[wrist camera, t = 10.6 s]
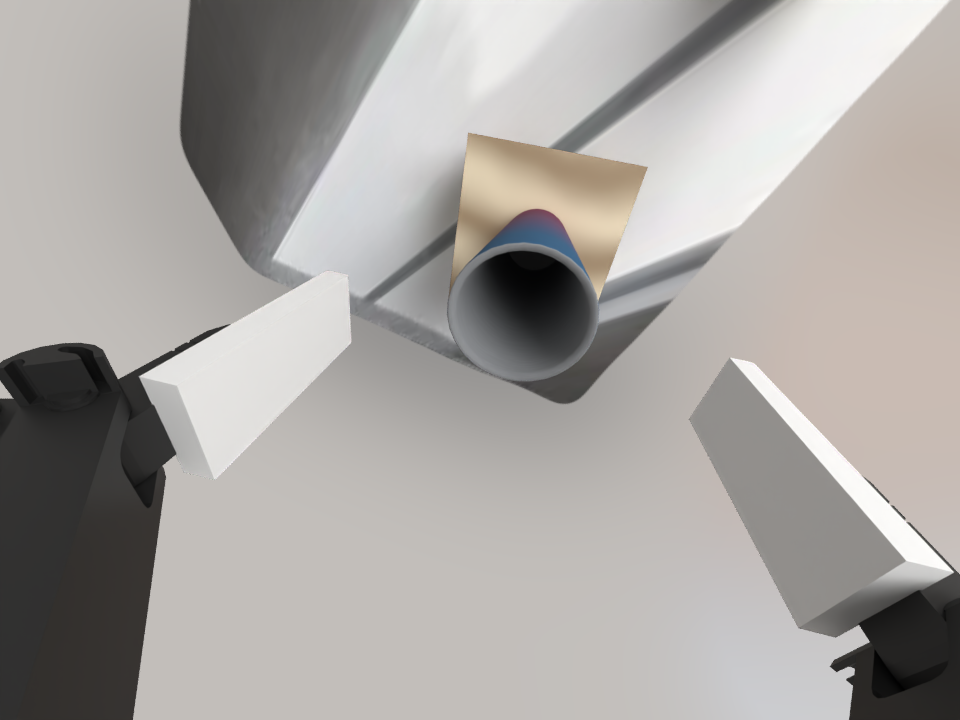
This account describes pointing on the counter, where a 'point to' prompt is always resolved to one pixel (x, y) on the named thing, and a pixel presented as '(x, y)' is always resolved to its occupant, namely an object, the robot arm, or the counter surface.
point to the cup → (524, 302)
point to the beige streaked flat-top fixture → (545, 198)
